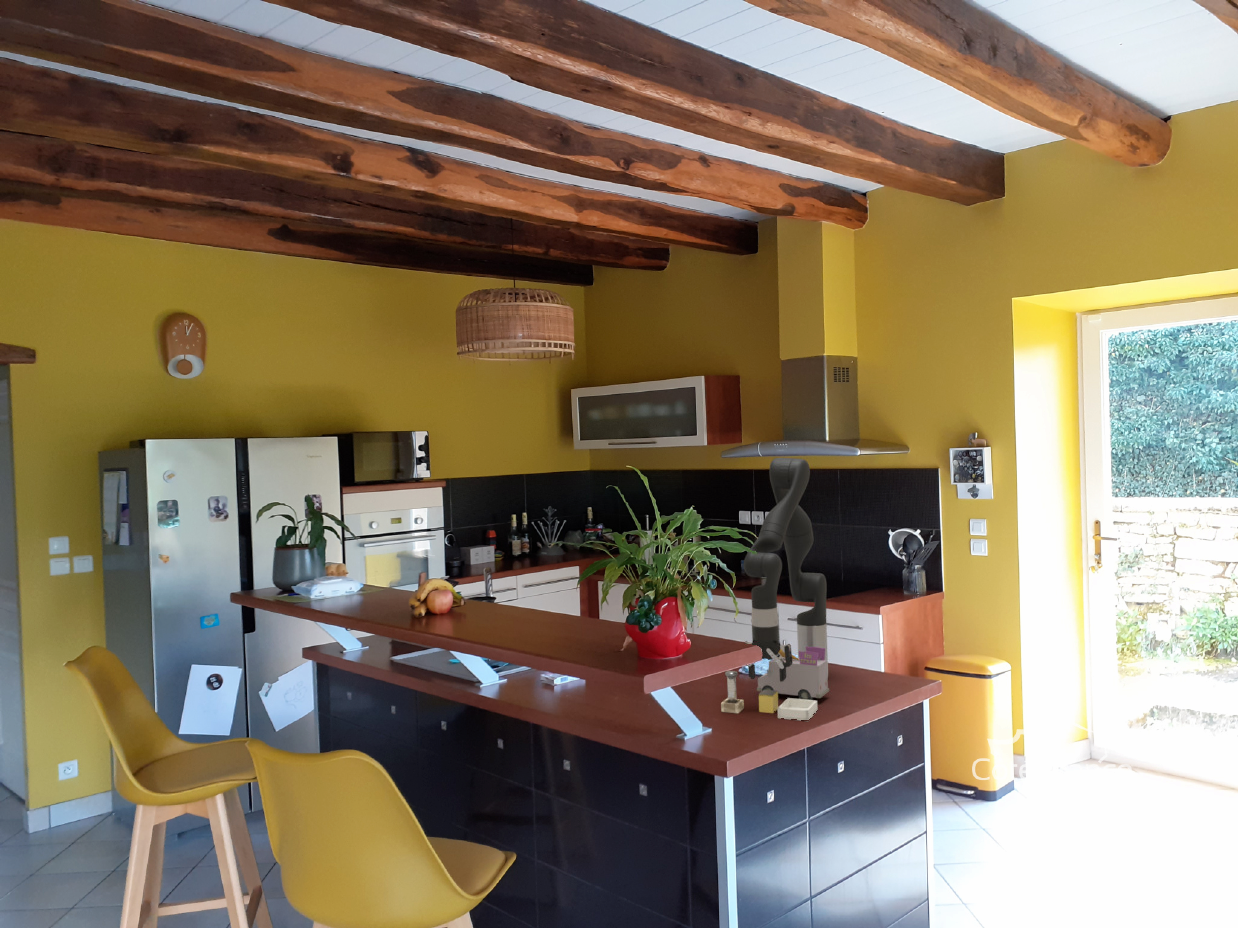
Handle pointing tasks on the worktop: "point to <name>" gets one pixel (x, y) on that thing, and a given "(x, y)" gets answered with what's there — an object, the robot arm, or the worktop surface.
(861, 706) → the worktop surface
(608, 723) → the worktop surface
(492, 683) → the worktop surface
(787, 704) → the tray
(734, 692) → the pin
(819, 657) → the toy vehicle
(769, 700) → the block
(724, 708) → the holder
